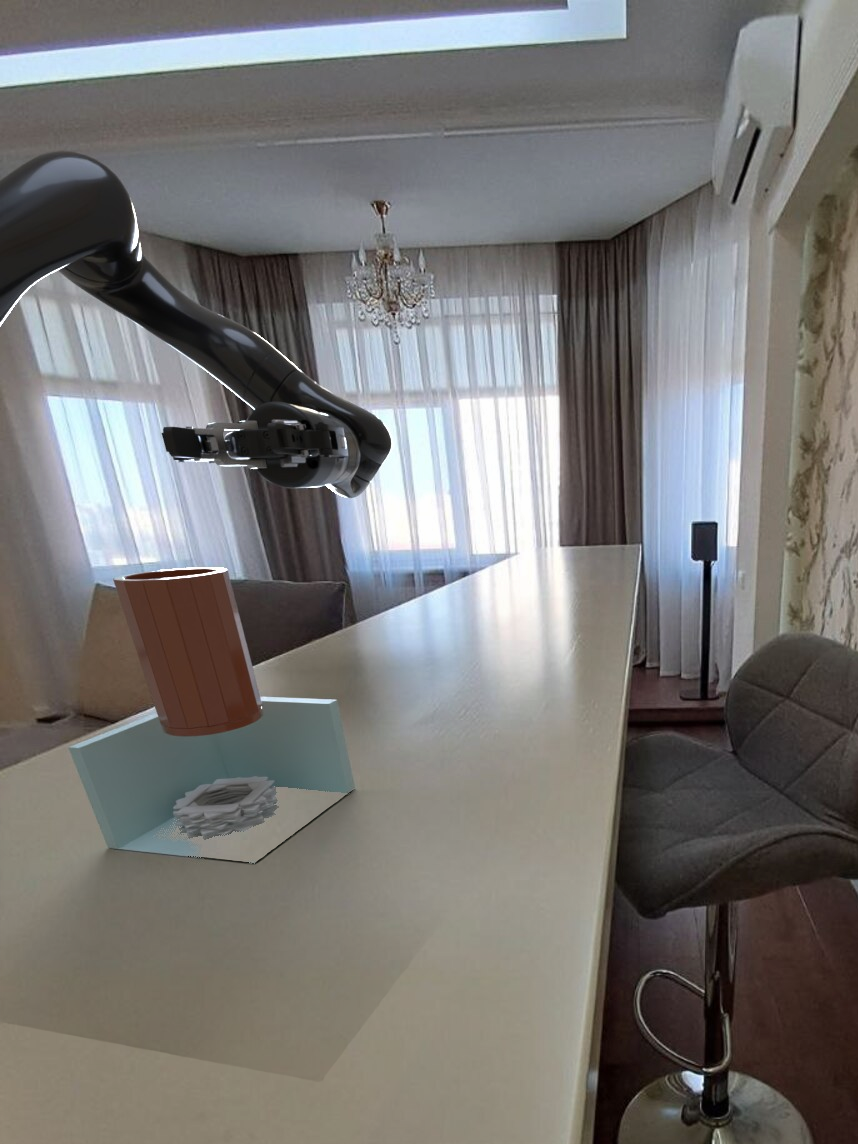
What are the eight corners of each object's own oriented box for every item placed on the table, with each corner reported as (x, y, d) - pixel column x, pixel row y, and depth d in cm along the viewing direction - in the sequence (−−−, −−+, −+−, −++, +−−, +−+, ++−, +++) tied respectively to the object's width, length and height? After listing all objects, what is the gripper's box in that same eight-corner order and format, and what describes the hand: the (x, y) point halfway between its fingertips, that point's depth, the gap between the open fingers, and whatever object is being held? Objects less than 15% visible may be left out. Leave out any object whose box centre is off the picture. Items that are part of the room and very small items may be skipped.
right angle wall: (108, 847, 47) (68, 747, 44) (230, 779, 58) (205, 694, 55) (255, 863, 45) (224, 757, 41) (355, 789, 55) (336, 699, 52)
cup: (140, 735, 46) (87, 581, 42) (205, 706, 51) (164, 568, 47) (225, 738, 45) (179, 580, 40) (282, 708, 50) (247, 566, 46)
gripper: (221, 408, 68) (119, 389, 54) (362, 403, 68) (298, 382, 54) (240, 490, 72) (149, 493, 57) (375, 485, 72) (318, 487, 57)
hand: (222, 439), depth 55 cm, fingers open, 8 cm apart
